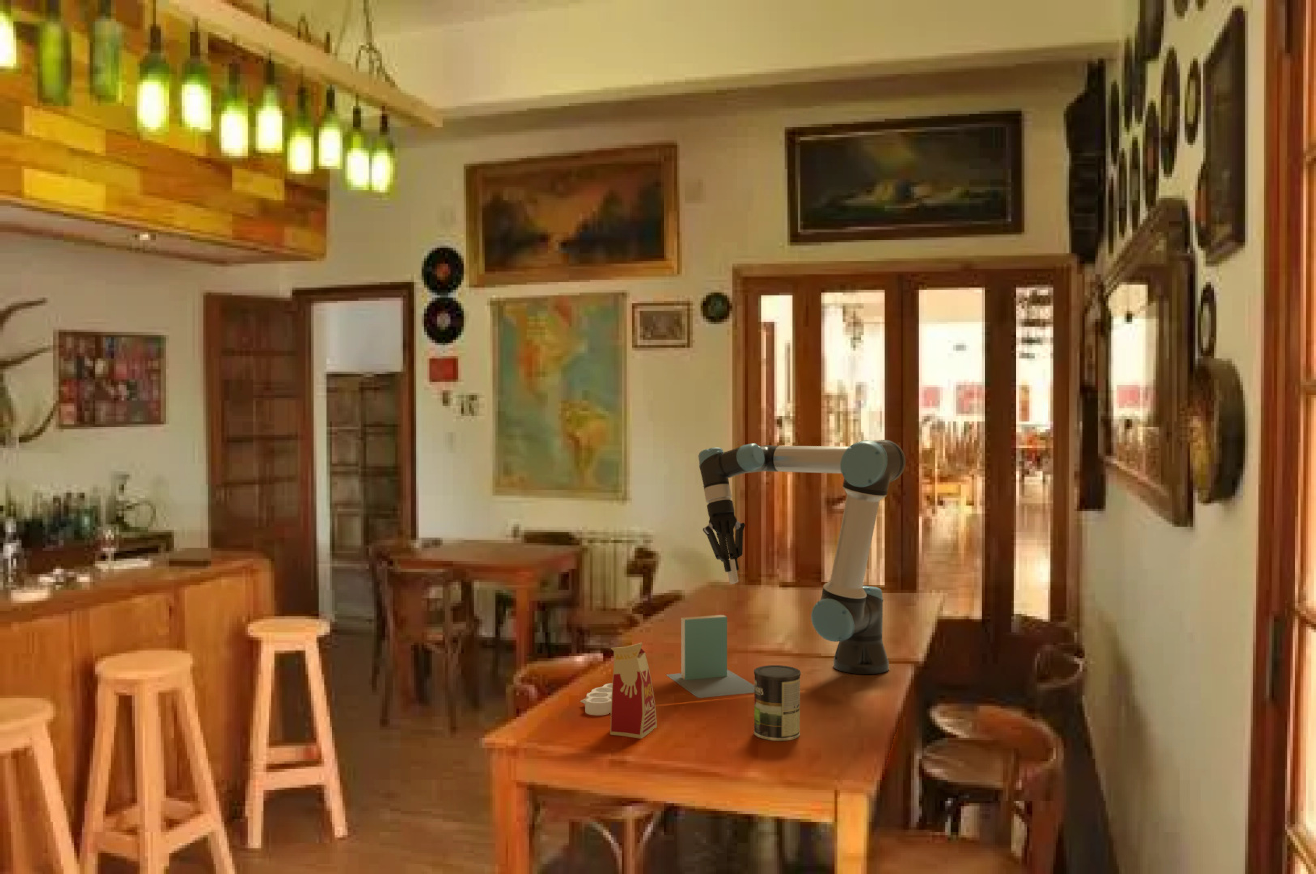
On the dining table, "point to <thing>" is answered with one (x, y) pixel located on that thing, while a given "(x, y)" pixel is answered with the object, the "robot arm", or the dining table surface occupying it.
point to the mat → (715, 685)
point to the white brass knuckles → (599, 700)
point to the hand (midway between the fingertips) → (734, 582)
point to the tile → (703, 647)
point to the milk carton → (632, 694)
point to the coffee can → (777, 703)
